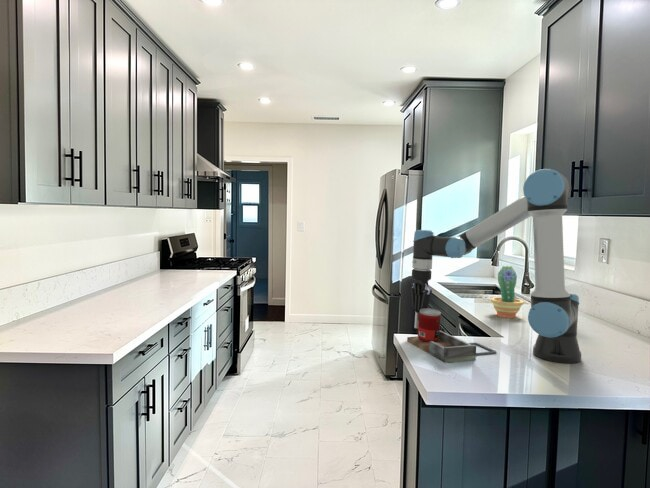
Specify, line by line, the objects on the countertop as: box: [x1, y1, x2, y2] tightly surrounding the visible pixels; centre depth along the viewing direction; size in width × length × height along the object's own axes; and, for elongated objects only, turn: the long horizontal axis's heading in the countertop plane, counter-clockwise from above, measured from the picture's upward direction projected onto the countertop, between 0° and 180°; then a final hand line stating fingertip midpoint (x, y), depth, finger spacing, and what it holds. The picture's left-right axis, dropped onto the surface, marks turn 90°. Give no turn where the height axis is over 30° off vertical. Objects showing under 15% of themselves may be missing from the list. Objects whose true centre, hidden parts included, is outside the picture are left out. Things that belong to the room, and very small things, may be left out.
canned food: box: [417, 307, 442, 342], centre depth 165 cm, size 8×8×11 cm
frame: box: [468, 342, 497, 356], centre depth 159 cm, size 12×10×1 cm
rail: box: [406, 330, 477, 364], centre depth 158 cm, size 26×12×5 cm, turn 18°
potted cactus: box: [490, 265, 525, 319], centre depth 216 cm, size 15×15×25 cm
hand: (418, 327), depth 172 cm, fingers closed
